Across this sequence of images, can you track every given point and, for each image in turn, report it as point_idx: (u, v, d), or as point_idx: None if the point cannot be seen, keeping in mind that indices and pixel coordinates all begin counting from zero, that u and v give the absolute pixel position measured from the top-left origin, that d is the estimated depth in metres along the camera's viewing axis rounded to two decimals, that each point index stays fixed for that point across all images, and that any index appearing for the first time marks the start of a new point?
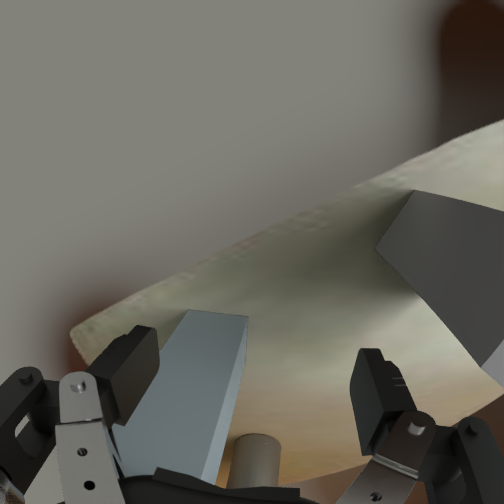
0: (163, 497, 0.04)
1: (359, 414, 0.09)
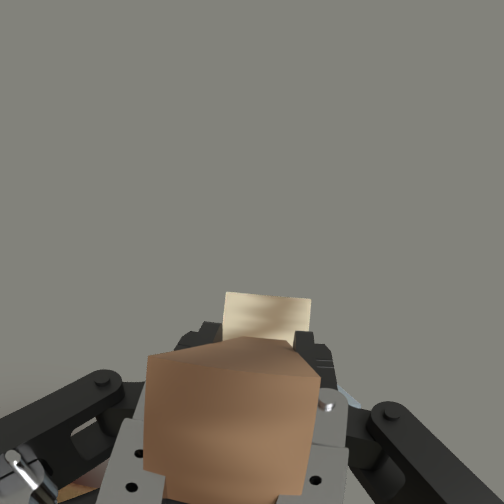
0: None
1: None
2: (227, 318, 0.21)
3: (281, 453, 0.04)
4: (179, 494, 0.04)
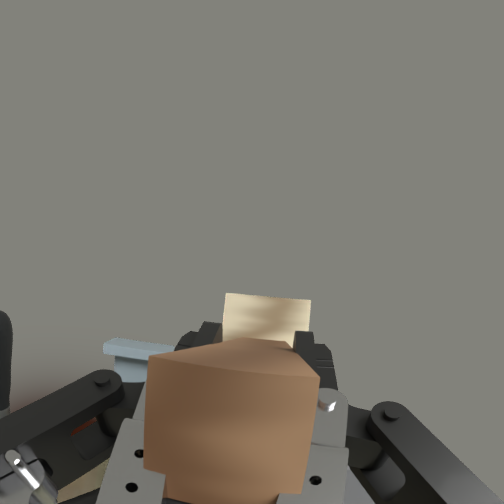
0: None
1: None
2: (227, 319, 0.21)
3: (280, 452, 0.04)
4: (179, 493, 0.04)
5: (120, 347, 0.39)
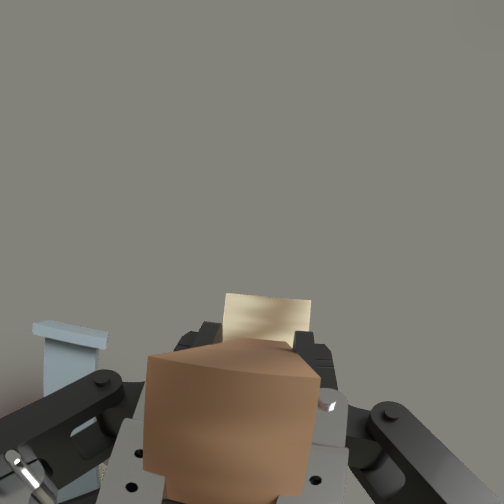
0: None
1: None
2: (227, 319, 0.21)
3: (281, 454, 0.04)
4: (179, 494, 0.04)
5: (49, 328, 0.32)
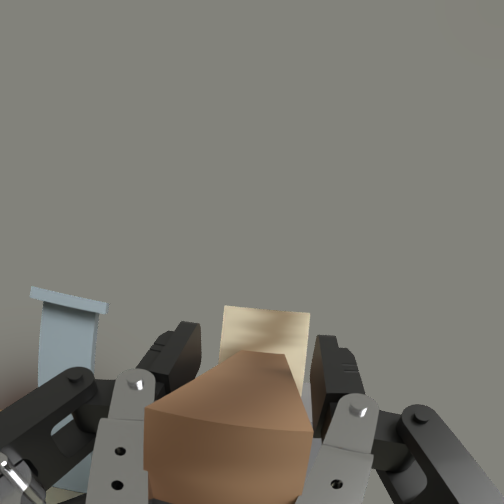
0: None
1: (313, 398, 0.10)
2: (225, 332, 0.20)
3: (273, 495, 0.04)
4: None
5: (48, 291, 0.32)
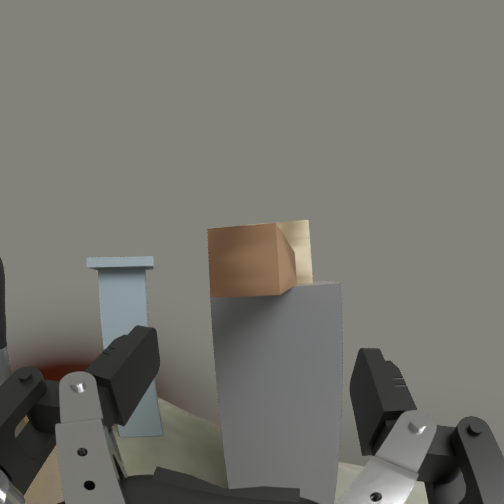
0: (163, 497, 0.04)
1: (359, 414, 0.09)
2: None
3: (265, 258, 0.13)
4: (226, 292, 0.13)
5: (101, 258, 0.43)
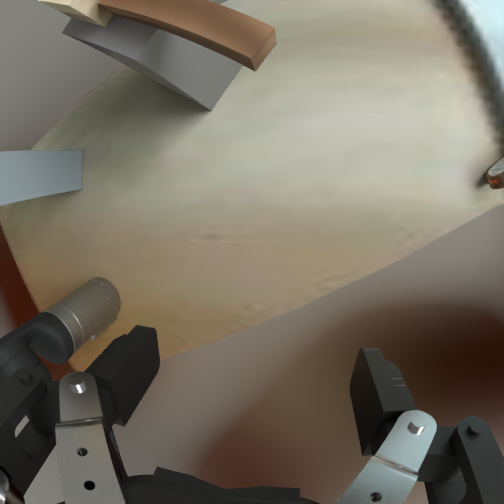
0: (163, 497, 0.04)
1: (359, 414, 0.09)
2: (83, 9, 0.15)
3: (271, 40, 0.18)
4: (260, 63, 0.19)
5: None
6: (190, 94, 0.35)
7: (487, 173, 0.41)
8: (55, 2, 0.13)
